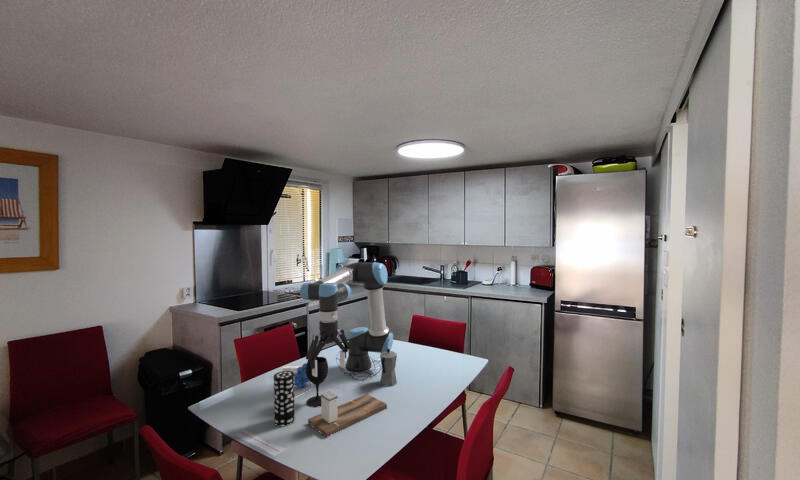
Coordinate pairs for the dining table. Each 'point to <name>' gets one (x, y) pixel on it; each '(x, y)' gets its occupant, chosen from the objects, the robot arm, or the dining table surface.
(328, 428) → the brown flat wooden board
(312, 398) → the wine glass
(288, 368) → the napkin holder
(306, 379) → the grapes
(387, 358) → the coffeepot
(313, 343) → the robot arm
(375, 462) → the dining table surface
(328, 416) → the fader
